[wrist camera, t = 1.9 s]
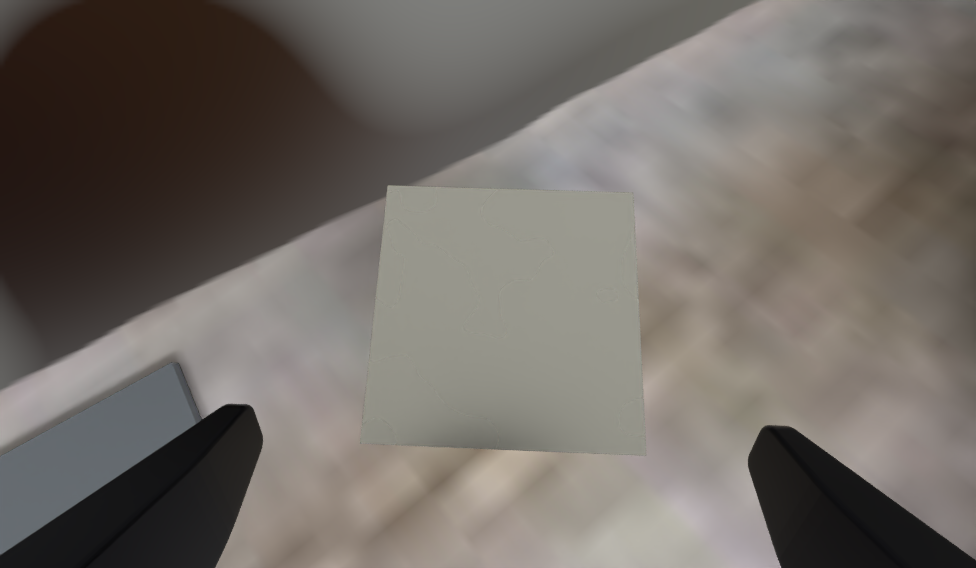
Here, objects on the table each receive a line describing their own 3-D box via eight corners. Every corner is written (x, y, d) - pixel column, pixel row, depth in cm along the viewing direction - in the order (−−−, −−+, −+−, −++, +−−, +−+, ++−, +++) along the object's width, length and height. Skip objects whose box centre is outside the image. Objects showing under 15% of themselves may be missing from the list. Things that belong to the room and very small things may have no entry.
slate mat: (234, 500, 17) (228, 502, 17) (26, 624, 16) (14, 630, 16) (178, 363, 18) (171, 362, 18) (-16, 470, 17) (-28, 471, 17)
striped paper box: (562, 428, 17) (649, 459, 8) (432, 422, 18) (356, 446, 8) (562, 301, 19) (635, 190, 9) (441, 297, 19) (385, 183, 9)
